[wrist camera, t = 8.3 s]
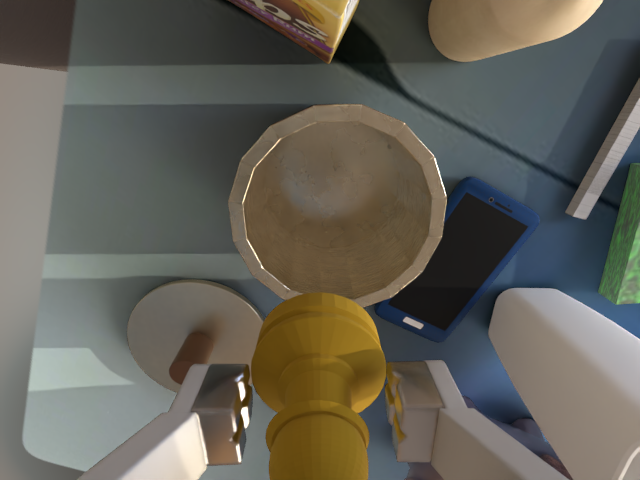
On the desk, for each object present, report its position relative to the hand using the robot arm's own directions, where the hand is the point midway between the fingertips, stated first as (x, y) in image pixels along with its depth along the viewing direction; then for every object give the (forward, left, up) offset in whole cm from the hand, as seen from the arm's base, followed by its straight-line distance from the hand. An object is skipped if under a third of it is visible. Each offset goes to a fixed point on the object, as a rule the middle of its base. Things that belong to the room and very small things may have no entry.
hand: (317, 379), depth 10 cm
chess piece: (0, 0, -2) cm, 2 cm away
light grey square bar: (-5, +22, -19) cm, 29 cm away
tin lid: (+13, -11, -18) cm, 24 cm away
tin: (-1, +1, -18) cm, 19 cm away
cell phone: (+6, +11, -19) cm, 22 cm away
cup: (+11, +18, -19) cm, 28 cm away
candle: (-12, +10, -19) cm, 25 cm away
